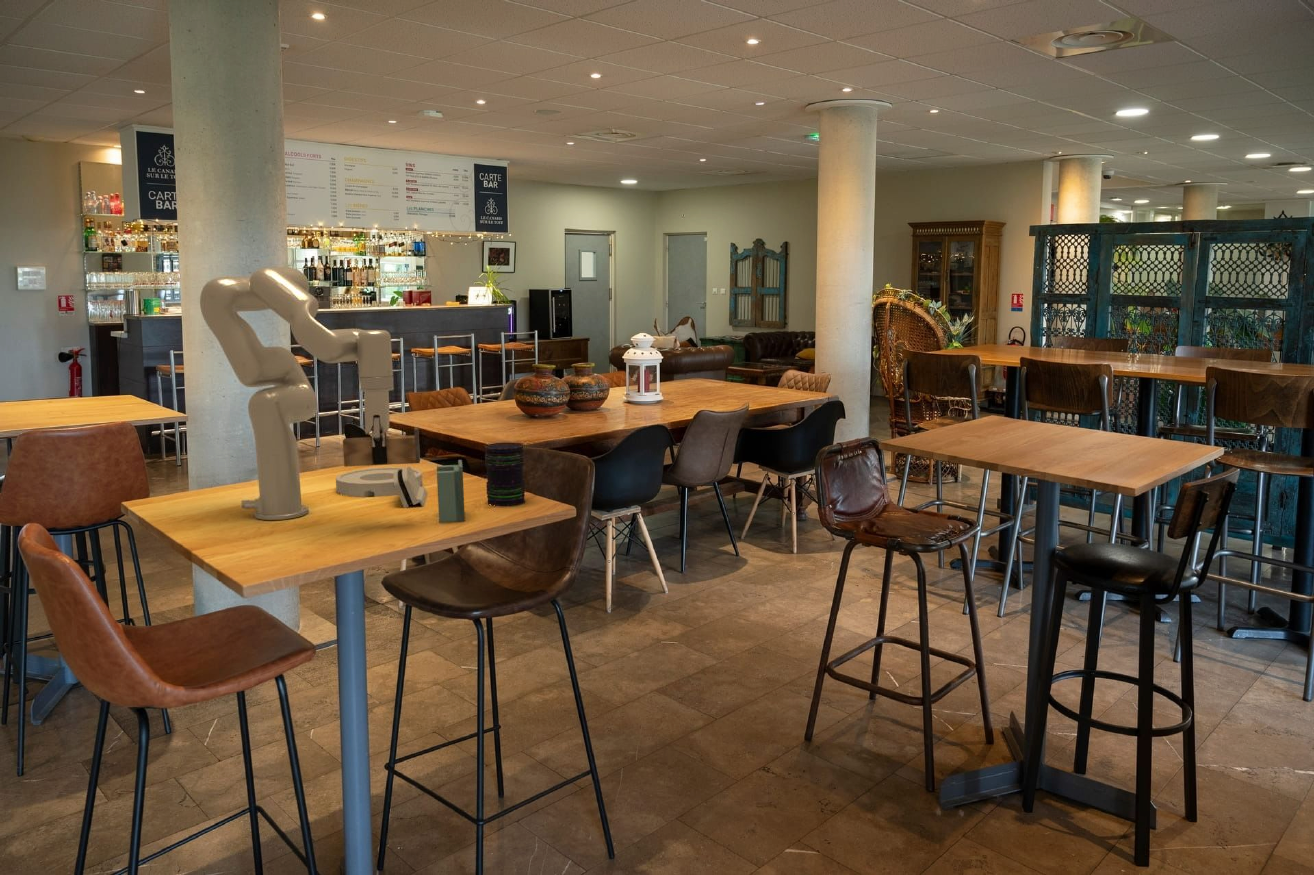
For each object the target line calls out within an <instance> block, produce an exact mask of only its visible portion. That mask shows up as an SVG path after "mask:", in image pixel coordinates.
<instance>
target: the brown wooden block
mask: <svg viewBox="0 0 1314 875" xmlns="http://www.w3.org/2000/svg"><path fill="white" fill-rule="evenodd" d="M413 431H414V435H396V436H395V435H394V436H393V435H392V436H391V435H390V436H388V435H387V437H385V446H386V448H387V463H386V464H373V458H372V447H373V446H372V436H369V437H367V436H366V437H348V438H347V437H344V438H343V440H342V450H343V464H344V467H347V468H348V467H366V466H369V467H370V466H385V465H386V466H388V465H390V466H391V465H406V464H407V465H408V464H409V465H410V464H411V465H412V464H413V465H414V464H420V462H421V451H420V449H421V448H420V434H419V433H420V431H419V426H414V429H413Z"/></svg>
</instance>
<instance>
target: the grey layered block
mask: <svg viewBox="0 0 1314 875" xmlns="http://www.w3.org/2000/svg"><path fill="white" fill-rule="evenodd" d="M402 468H403V469H402V470H400V469H399V470H397V471H396V472H394V476H393V479H394V485H395V488H396V490H397V492H398V495H397V496H398V497H399V499H400V503H401V504H402V506H403V509H407V508H409V507H410V506H411V505H413V506H414V505H417V504H420V506H421V507H422V508H425V505H426V501H427V497H428V492H427V490H426V488H425V487H423V486H420V485H419V483H418V481H417V479H416V477H415V475H414V472H413V470H412V469H413V468H412V467H411V466H405V467H404V466H403V467H402Z"/></svg>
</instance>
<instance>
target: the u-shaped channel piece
mask: <svg viewBox="0 0 1314 875" xmlns="http://www.w3.org/2000/svg"><path fill="white" fill-rule="evenodd" d="M457 463H458V464H449V465H436V486H437V506H438V523H439V524H441V523H442V524H443V523H453V522H455V523H456V522H465V521H466V520H465V519H466V517H465V516H466V514H465V512H466V511H465V497H464V496H465V495H464V494H465V493H464V492H465V491H464V473H463V472H464V470H463V460H462V459H458V460H457Z"/></svg>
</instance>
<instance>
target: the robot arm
mask: <svg viewBox="0 0 1314 875" xmlns="http://www.w3.org/2000/svg"><path fill="white" fill-rule="evenodd" d="M309 291H310V283H309V280H308V278H307V276H306V275H305V274H304V273H303V272H302V271H301V270H299V269H297V268H295V267H290V266H289V267H287V266H285V267H284V266H283V267H281V266H280V267H279V266H277V267H276V266H267V267H262V268H259V269H257V270H255V271H254V272H253V273H252V274H251V275H250V276H220V277H216V278H213V279H210V280H209V281H207V282H206V284H205V285H204V286H203V287H202V290H201V292H200V296H199V298H200V299H199V306H200V312H201V315H202V317H203V320H204V322H205V324H206V325H207V327H208V328H209V329H210V331H211V333H212V334H213V335H214V337H215V338H216V340H217V341H218V343H219V345H220V347H221V348H222V351H223V353H224V355H225V356H226V358H227V361H228V363H229V365H230V366H231V369H232V370H233V372H234V374H235V376H236V377H237V379H238V380H239V382H240V383H241V384H242V385H243V386H245V387H247V388H260V387H266V388H262V389H258V390H257V391H256V392H254V393H253V394H252V395H251V397H250V399H249V400H248V405H247V409H248V415H249V419H250V422H251V426H252V430H253V435H254V436H253V437H254V444H255V454H256V463H257V464H256V466H257V478H258V481H257V482H258V492H259V497H258V498H255V499H254V500H249V499H247V500H241V509H245V510H252V509H254V510H255V511H254V513H253V516H254V518H255V519H258V520H264V521H280V520H289V519H290V520H291V519H295V518H299V517H303V516H306V515H307V514H308V513H309V512H310V511H309V510H310V509H309V506H307V505H303V504H302V491H301V476H300V467H299V466H300V464H299V451H298V442H297V438H296V436H295V434H294V432H293V430H292V428H291V424H297V423H301V422H305V421H309V420H310V419H311V418H313V417H314V416H315V415H316V413H317V410H318V398H317V395H316V393H315V390H314V388H313V387H312V385H311V383H310V380H309V379H308V377H307V375H306V372H304V370H303V367H302V366H301V364H300V362H299V360H298V358H297V357H296V356H295V355H294V354H293V353H292V352H291V351H290V350H289V349H288V348H285V347H283V346H264V345H263V344H262V342H261V341H260V339H259V337H258V335H257V334H256V332H255V330H254V328H253V327H252V326H251V325H250V324H249V322H247V321H246V320H245V319H244V318H243V317H241V316H240V314H238V313H239V312H259V311H260V312H261V311H268V310H272V311H273V312H274V313H275V314H277V316H279V317H280V318H282V319H283V320H284V321H286V322H287V323H288V324H289V325H290V329H291V330H290V331H291V333H292V334H293V337H294V339H295V342H296V343H297V344H299V346H300V348H301V347H302V349H303V350H305V352H308V353H309V354H310V355H312V357H314V358H315V359H317V360H319V361H322V363H327V364H337V363H345V362H356V361H357V365H358V366H357V367H358V380H359V391H360V392H364V398H363V399H364V400H363V401H364V403H363V404H364V407H363V408H364V433H365V435H369V434H370V433H371V437H372V446H373V447H372V458H373V464H386V463H387V448H386V446H385V437H388V434H387V433H388V431H389V429H390V396H389V395H390V394H389V391H393V390H394V376H393V375H394V372H393V352H392V338H391V334H390V332H388V331H387V330H385V329H367V330H366V329H361V328H343V329H341V328H340V329H328V328H327V327H326V326H324V325H323V324H321V323H320V322H319V321H318V320H317V319H316V318H315V317H316V315H317V314H318V311H319V306H320V305H319V302H318V299H317V298H316V296H314V295H312V294H311V293H309ZM269 386H270V387H269Z"/></svg>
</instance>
